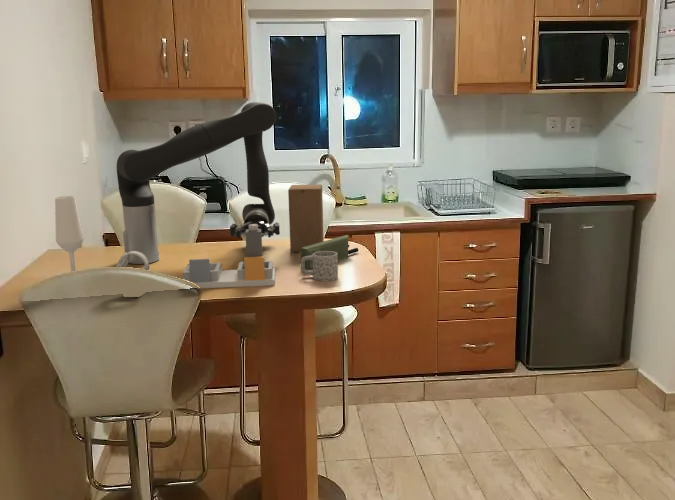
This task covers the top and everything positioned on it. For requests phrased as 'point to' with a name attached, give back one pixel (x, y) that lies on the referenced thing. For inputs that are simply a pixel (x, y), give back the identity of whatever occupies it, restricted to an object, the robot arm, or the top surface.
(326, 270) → the mug
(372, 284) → the top surface
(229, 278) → the charging dock
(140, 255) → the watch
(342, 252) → the handheld radio
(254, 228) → the plug
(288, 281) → the top surface
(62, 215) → the champagne flute
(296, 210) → the wooden block
